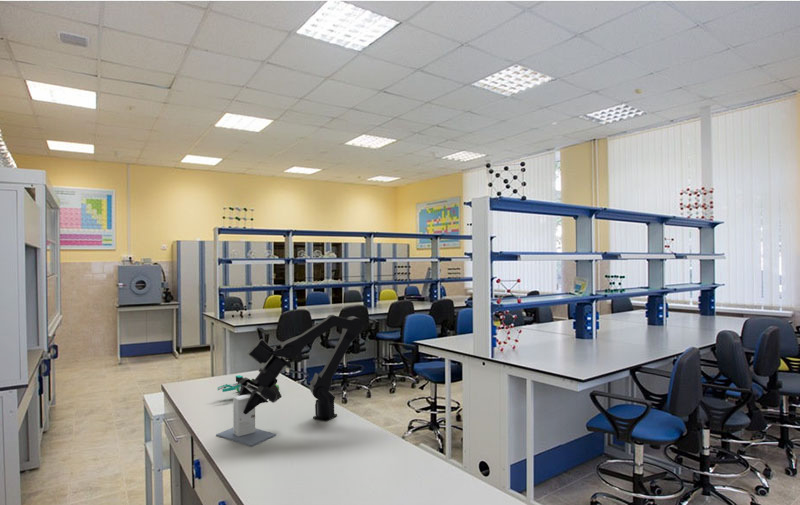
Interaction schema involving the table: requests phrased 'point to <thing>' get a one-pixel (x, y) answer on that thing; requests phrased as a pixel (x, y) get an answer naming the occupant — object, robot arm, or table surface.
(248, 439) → the blue-gray mat
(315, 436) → the table surface
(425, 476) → the table surface
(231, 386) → the robot kit
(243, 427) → the skincare box
